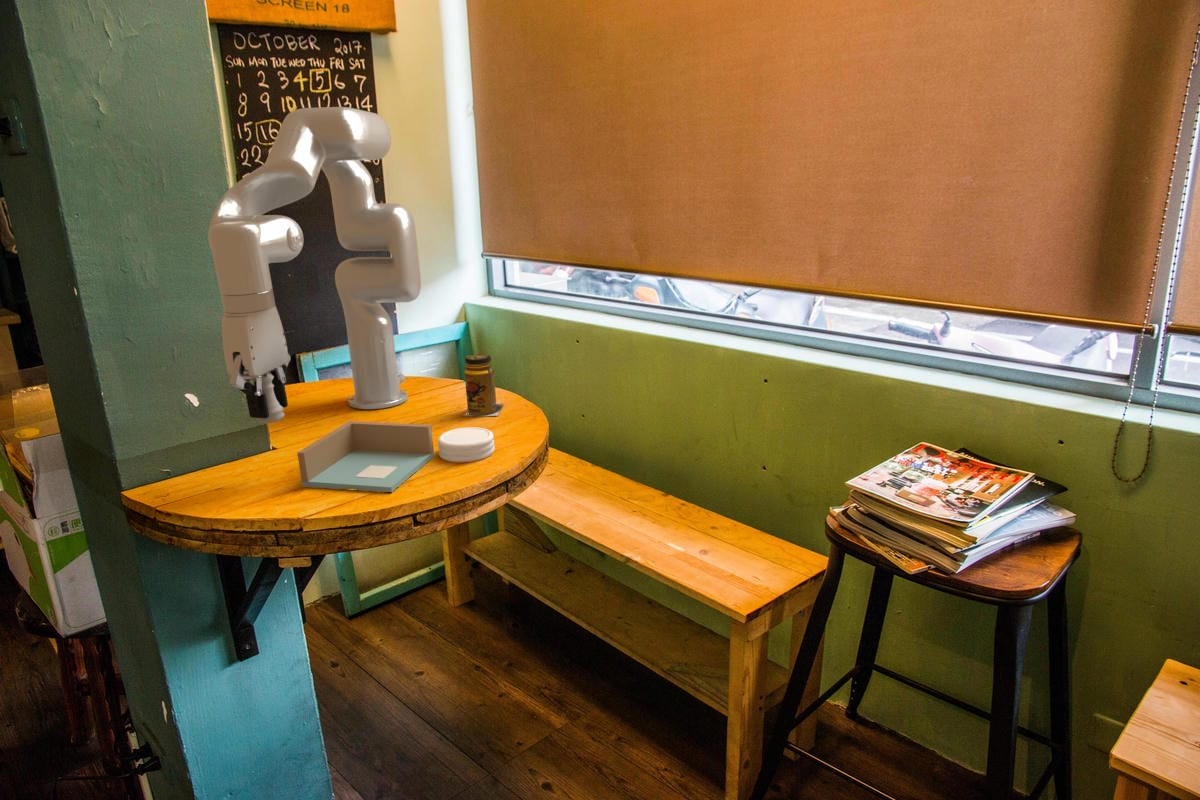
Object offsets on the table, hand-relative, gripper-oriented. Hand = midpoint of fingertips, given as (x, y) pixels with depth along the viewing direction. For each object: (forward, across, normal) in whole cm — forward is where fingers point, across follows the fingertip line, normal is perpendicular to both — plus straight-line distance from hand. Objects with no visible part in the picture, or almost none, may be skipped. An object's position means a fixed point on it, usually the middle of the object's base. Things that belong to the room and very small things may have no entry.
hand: (269, 410), depth 128 cm
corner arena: (+12, -5, +14) cm, 19 cm away
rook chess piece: (+2, 0, 0) cm, 2 cm away
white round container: (+13, -16, +27) cm, 34 cm away
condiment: (+14, -40, +21) cm, 47 cm away
